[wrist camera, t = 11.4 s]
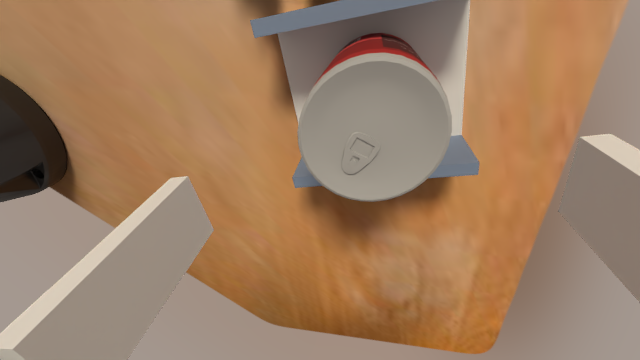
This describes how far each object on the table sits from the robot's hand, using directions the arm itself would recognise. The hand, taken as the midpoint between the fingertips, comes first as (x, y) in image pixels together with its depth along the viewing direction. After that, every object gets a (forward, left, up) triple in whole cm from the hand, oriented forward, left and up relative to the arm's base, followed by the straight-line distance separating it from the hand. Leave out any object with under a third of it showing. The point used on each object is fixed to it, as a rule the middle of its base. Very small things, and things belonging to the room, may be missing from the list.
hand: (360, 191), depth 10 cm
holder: (0, 0, -16) cm, 16 cm away
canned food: (0, 0, -16) cm, 16 cm away
